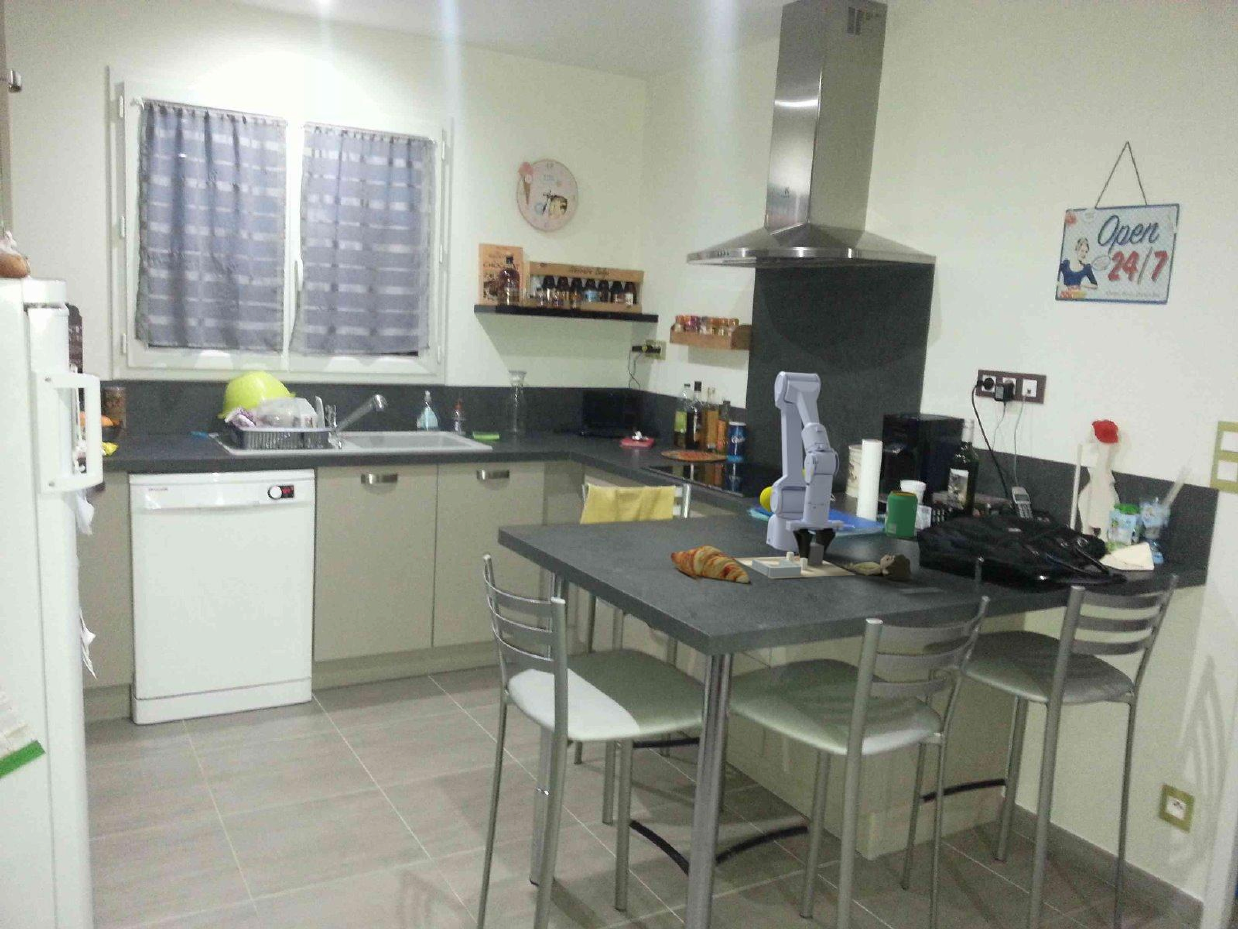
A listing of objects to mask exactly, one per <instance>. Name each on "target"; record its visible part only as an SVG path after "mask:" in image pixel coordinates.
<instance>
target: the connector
mask: <svg viewBox="0 0 1238 929" xmlns="http://www.w3.org/2000/svg"><path fill="white" fill-rule="evenodd" d="M823 553H824V546H822V545H820V544H817V543H816V541H811V544H810V548H809V555H808V561H807V565H809V566H818V565H822V562H823V560H824V558H823ZM795 554H798V556H799V549H798V548H797V549H796V550H795ZM799 560H800V556H799Z"/></svg>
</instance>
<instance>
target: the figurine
mask: <svg viewBox="0 0 1238 929" xmlns="http://www.w3.org/2000/svg"><path fill="white" fill-rule="evenodd" d="M843 567H844V568H843V569H845V570H847V569H848V570H851V571H856V573H859V574H862V575H865V576H869V575H881V574H882V575H883V577H884V578H885V579H887V580H891V581H896V582H905V581H907V580H908V578H910V576H911V575H912V570H911V560H910V558H909V559H908V558H907V557H906V556H905V555H904V554H898V555H892V556H890V555H889V554H885V555H884V556H883V557H882V558H881V559H880V564H879V563H876V562H873V561H865V562H860V563H858V564H854V563H853V562H851V563H850V564H849V565H848V564H845V565H844V566H843Z"/></svg>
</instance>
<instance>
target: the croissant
mask: <svg viewBox="0 0 1238 929" xmlns="http://www.w3.org/2000/svg"><path fill="white" fill-rule="evenodd" d="M670 559H671V561H672V563H674V564H675V567H676V568H677V569H678V570H679V571H680V572H681V573H685V575H687V576H689V575H691V576H690V577H692V576H694V577H695V578H697V579H699V578H700V580H702V578H701V577H704V578H711V579H719V580H723V581H730V582H735V583H736V582H737V583H741V584H742V583H743V584H748V583H749V582H750V577H749V576H748V573H747V571H746V570H745V569H744V568H743V567H741V566H740V565H739V564H738V561H737V560H735V559H734V557H729V556H725V554H724V553H723V552H722V551H721V550H720V549H718V548H715V547H714V546H710V545H708V544H703V545H701V546H698V548H691V549H689V550H687V551H682V550H681V551H679V552H671V553H670ZM700 576H701V577H700ZM694 577H693V578H694Z"/></svg>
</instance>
